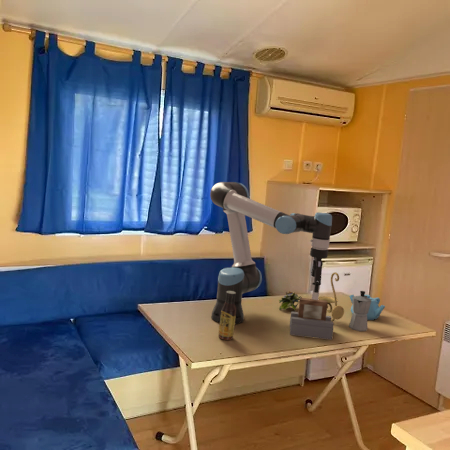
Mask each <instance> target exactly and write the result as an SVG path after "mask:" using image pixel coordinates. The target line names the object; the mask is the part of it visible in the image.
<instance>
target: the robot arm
mask: <svg viewBox="0 0 450 450" xmlns="http://www.w3.org/2000/svg"><path fill="white" fill-rule="evenodd" d="M209 194H210V195H209V196H210V200H211V201H212V203H213V204H214V205H216V206H217V207H219V208H222V211H223V212H224V213H225V214H226V218H227V222H228V223H227V224H228V229H229V237H230V243H231V248H232V256H233V264H232V265H231V266H230V267H224V268H223V269H221V270H220V271H219V273H218V276H217V292H216V302H215V304H214V307H213V309H212V311H211V320H213V321H215V322H217V323H219V324H220V317H221V310H222V308H223V306H224V303H225V300H226V292H227V291H234V292H236V296H235V302H234V304H235V306H236V318H235V325H236V324H237V325H238V324H240V323H243V322H244V320H245V315H244V310H243V305H242V300H243V295H244V294H246V293H249V292H250V293H251V292H252V291H255V290H256V289H258V287H260V286H261V284H262V281H263V278H262V275H263V274H262V271H260V270H259V268H258V267H257V264H256V262H255V261H254V260H253V259H252V254H251V248H250V240H249V233H248V227H247V221H246V217H248V218H251V219H253V220H255V221H258V222H260V223H262V224H265V225H267V226H269V227H272V228H274V229H276V230H277V232H278V233H279V234H283V235H289V234H290V235H291V234H293V233H299V232H304V233H309V234H312V235H311V236H312V237H311V238H312V239H311V240H309V241H310V242H311V247H310V252H309V255H310V257H312V258H313V260H312V267H311V272H310V276H311V277H310V284H309V291H310V292H312V293H311V299H314V300H319V299H318V297H320V296H319V295H320V288H321V285H322V270H323V265H324V263H323V260H322V259H327V258H328V254H329V248H330V247H329V246H330V241H331V240H330V237H331V232H332V231H331V230H332V226H333V224H332V223H333V216H332V214H331V213H327V212H315V213H314V216H313V215H307V214H303V213H302V214H301V213H294V212H292V213H290V214H287V213H285V212H283V211H280V210H279V209H275V208H273V207H270V206H268V205H265V204H264V203H262V202H258V201H255V200H254V199H251V198H250V194H249V190H248V188H247V186H246V185H244V184H243V183H241V182H238V181H237V182H236V181H220V182H217V183H215V184H214V185H213V186H212V188H211V189H210V193H209Z"/></svg>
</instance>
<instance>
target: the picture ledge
mask: <svg viewBox="0 0 450 450" xmlns="http://www.w3.org/2000/svg"><path fill="white" fill-rule="evenodd" d="M332 319H333V317H332V315H326V321H323V320H315V319H306V318H298V311H295V312H294V311H291V312H290V319H289V335H291V336H298V337H299V336H300V337H305V336H306V337H307V338H313V337H314V338H313V339H315V338H316V339H323V340H329V341H333V336H334V335H333V333H334V324H335V323H334V321H333V322H332V321H331V320H332ZM306 337H305V338H306Z"/></svg>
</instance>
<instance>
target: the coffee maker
mask: <svg viewBox="0 0 450 450" xmlns="http://www.w3.org/2000/svg"><path fill="white" fill-rule="evenodd" d="M365 295H366V291H365V290H360V295H354V297H352V298H353V311H354V312H353V314H352V313H351V318H350V321H349V325H348V328H350V329H351V330H353V331H357V332H367V331H368V328H369V327H368V320H367V314H368V311H369V308H370V304H371V299H370V298H367V296H365Z"/></svg>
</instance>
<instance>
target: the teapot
mask: <svg viewBox="0 0 450 450" xmlns="http://www.w3.org/2000/svg"><path fill="white" fill-rule="evenodd" d="M354 296H355V295H354V294H350V295H349V299H350V301H351V304H352V305H351V307H350V312H351V315H352V314H353V312H354V311H353V298H352V297H354ZM365 296H367V298H370V299H371V304H370V308H369V311H368V314H367V321H375V320H377V319H378V318H380V316H381V314H382V312H383V310H384V309H385V307H386V306H385V305H384V304H381V305H380V302H381V299H380V297H371V295H370V294H365ZM374 319H375V320H374Z"/></svg>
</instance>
